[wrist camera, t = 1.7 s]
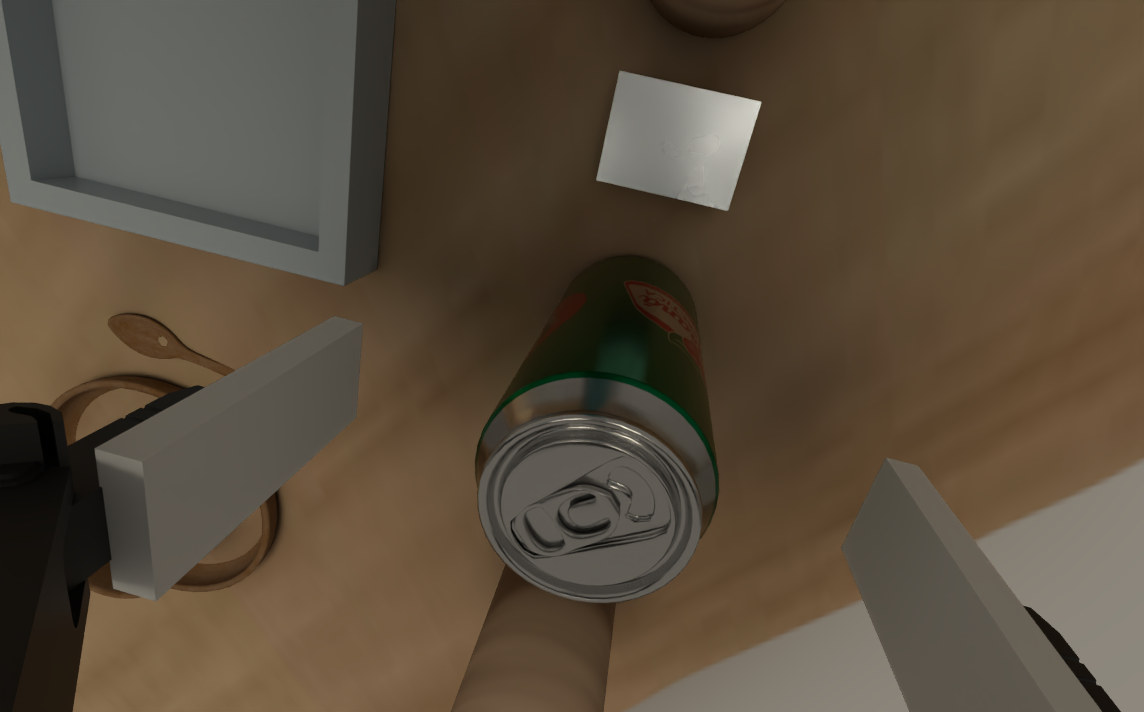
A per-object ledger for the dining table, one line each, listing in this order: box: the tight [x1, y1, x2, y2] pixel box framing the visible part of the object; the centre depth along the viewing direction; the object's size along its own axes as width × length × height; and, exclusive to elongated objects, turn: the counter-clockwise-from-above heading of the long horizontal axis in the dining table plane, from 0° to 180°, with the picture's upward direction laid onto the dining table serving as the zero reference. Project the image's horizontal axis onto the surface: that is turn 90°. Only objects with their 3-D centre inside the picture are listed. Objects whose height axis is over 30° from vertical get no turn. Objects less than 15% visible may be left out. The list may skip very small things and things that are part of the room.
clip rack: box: [596, 71, 761, 211], centre depth 21 cm, size 34×4×3 cm, turn 168°
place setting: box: [51, 314, 277, 599], centre depth 27 cm, size 18×20×6 cm
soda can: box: [475, 256, 719, 604], centre depth 16 cm, size 5×5×12 cm
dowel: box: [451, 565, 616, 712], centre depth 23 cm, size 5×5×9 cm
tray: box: [0, 0, 396, 286], centre depth 19 cm, size 13×13×2 cm
